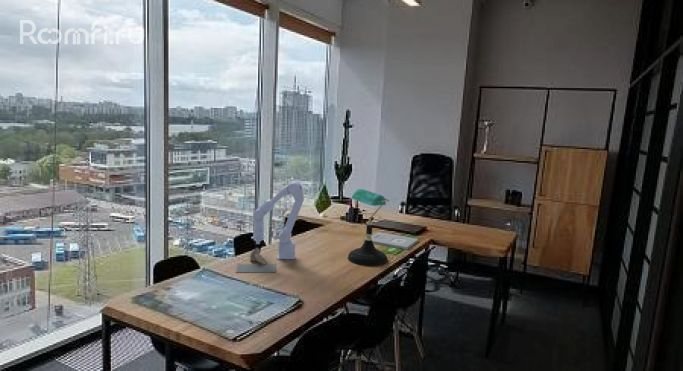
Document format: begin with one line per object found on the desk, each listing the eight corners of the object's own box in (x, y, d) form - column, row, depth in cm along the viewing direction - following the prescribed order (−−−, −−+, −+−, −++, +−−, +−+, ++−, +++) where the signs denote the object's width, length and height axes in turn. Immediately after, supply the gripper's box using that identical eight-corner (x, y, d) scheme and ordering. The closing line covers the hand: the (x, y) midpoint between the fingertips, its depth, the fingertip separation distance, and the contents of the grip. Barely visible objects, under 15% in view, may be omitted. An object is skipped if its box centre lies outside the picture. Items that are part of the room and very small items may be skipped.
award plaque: (377, 234, 310) (378, 232, 310) (418, 241, 297) (418, 238, 296) (363, 242, 288) (364, 239, 288) (406, 250, 275) (406, 247, 275)
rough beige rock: (255, 266, 230) (256, 253, 228) (247, 258, 242) (248, 245, 241) (266, 265, 232) (266, 252, 231) (257, 257, 245) (258, 244, 244)
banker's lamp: (339, 254, 258) (342, 188, 252) (372, 251, 268) (376, 187, 262) (361, 268, 234) (366, 196, 229) (396, 264, 245) (401, 195, 239)
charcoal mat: (275, 264, 234) (275, 264, 234) (275, 272, 222) (275, 271, 222) (238, 264, 231) (238, 264, 231) (236, 272, 219) (236, 272, 219)
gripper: (252, 226, 251) (251, 249, 253) (250, 233, 237) (250, 256, 239) (264, 226, 252) (263, 249, 254) (263, 233, 238) (263, 256, 240)
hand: (258, 252), depth 247 cm, fingers closed
